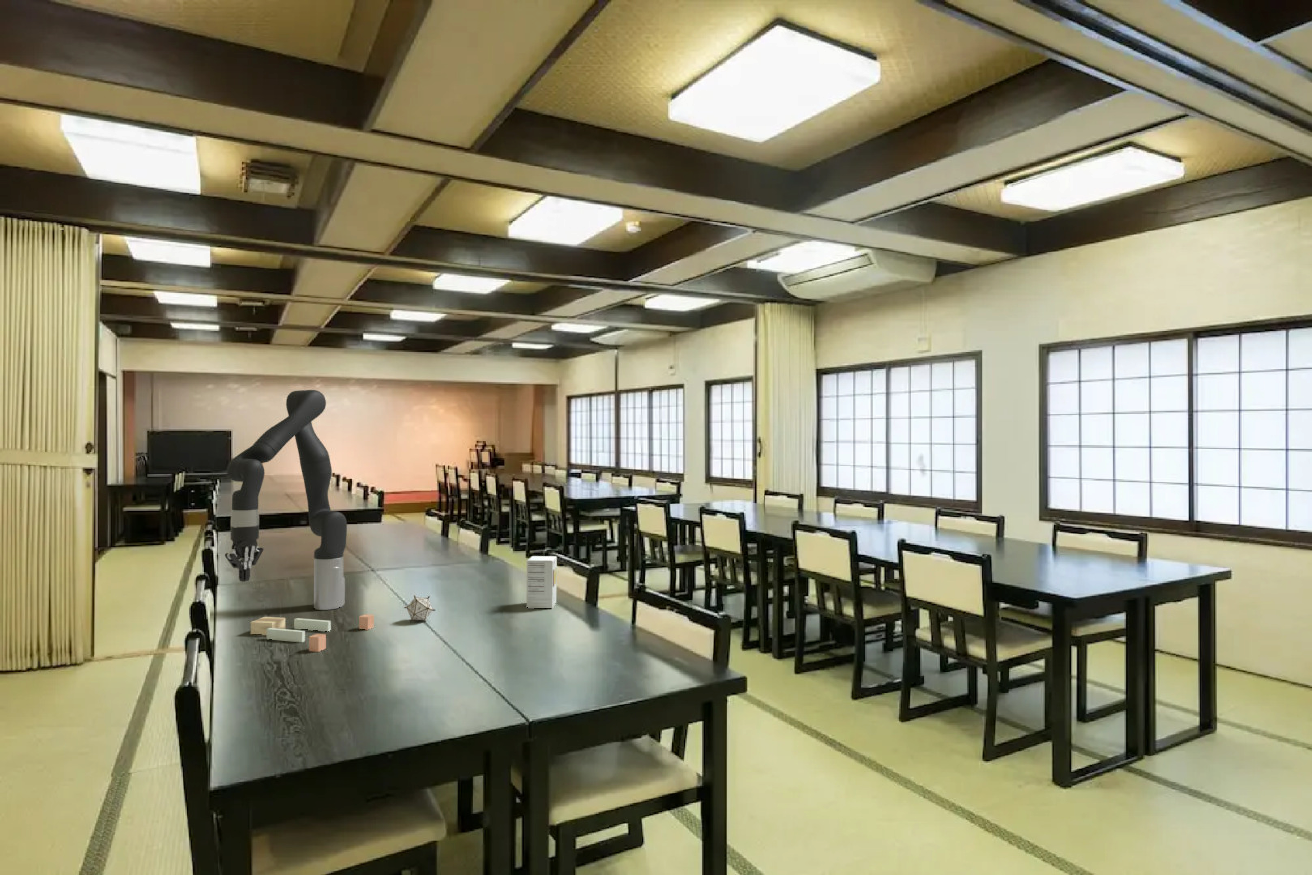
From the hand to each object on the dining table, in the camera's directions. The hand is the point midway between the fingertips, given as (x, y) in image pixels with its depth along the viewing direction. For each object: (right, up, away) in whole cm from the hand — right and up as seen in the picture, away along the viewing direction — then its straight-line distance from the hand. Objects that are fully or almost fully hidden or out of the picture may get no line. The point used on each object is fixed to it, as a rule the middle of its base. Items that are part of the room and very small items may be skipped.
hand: (244, 580), depth 218 cm
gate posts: (+34, -15, -8) cm, 38 cm away
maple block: (+8, -15, -2) cm, 18 cm away
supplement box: (+85, -16, +34) cm, 93 cm away
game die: (+50, -16, +12) cm, 53 cm away
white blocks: (+19, -15, -4) cm, 25 cm away
